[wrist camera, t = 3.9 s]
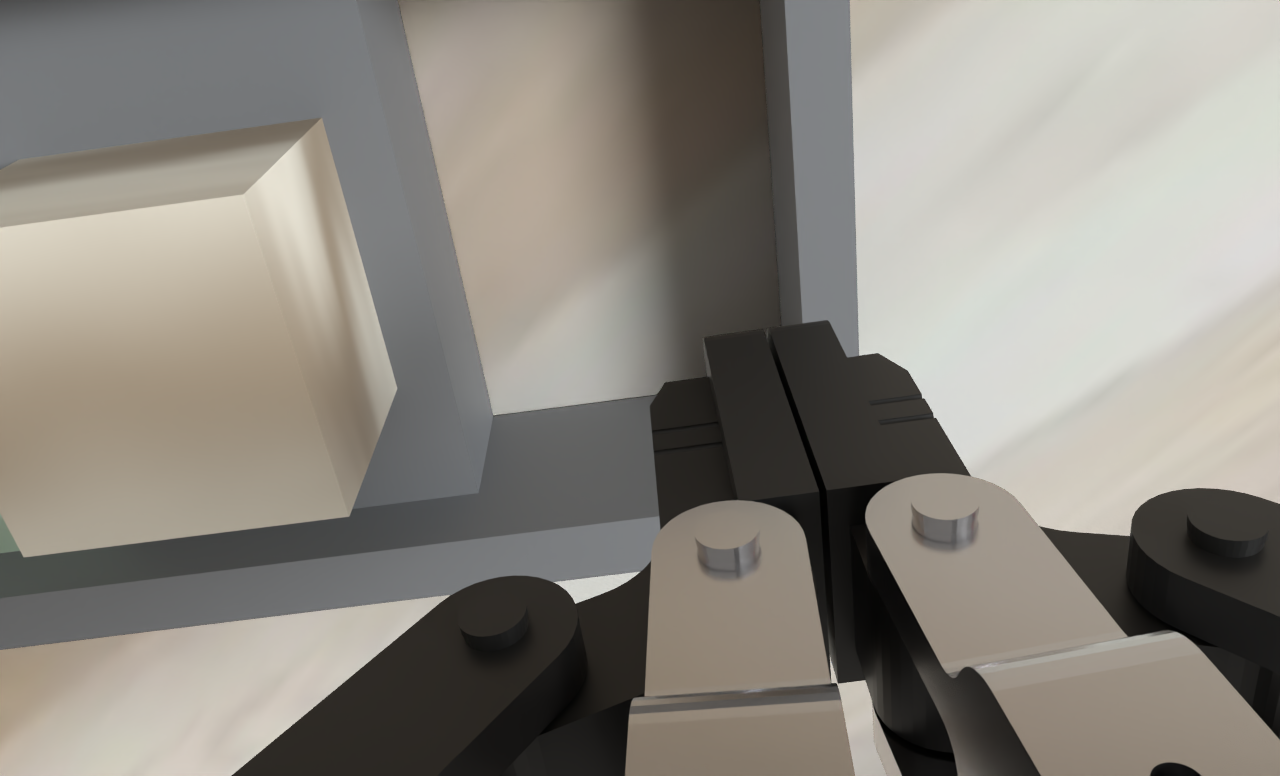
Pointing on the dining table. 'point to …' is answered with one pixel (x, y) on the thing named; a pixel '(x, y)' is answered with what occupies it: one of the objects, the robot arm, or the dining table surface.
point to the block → (183, 341)
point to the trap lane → (390, 308)
